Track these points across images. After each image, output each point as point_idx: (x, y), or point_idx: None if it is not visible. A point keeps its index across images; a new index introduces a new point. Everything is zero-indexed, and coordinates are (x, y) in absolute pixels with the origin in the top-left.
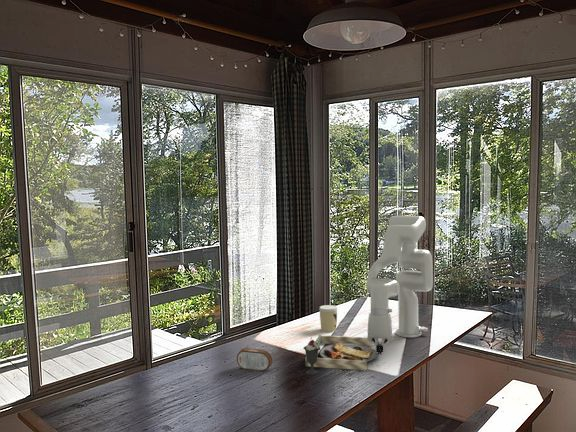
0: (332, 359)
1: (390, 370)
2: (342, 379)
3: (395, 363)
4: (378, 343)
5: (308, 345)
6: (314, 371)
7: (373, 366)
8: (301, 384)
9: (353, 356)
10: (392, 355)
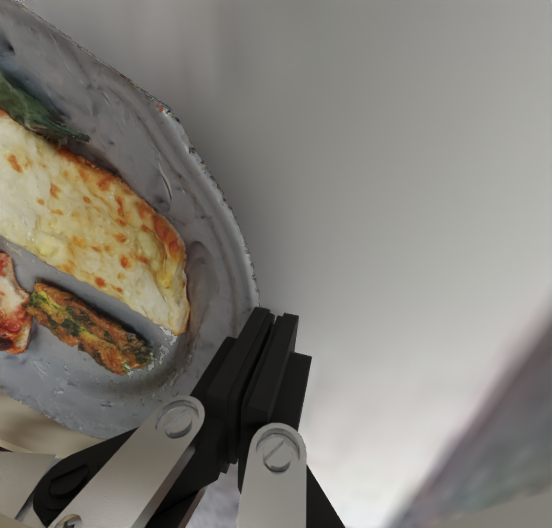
0: (5, 447)
1: (342, 493)
2: None
3: (411, 422)
4: (207, 480)
5: None
6: None
7: None
8: None
9: (76, 315)
10: (450, 235)
